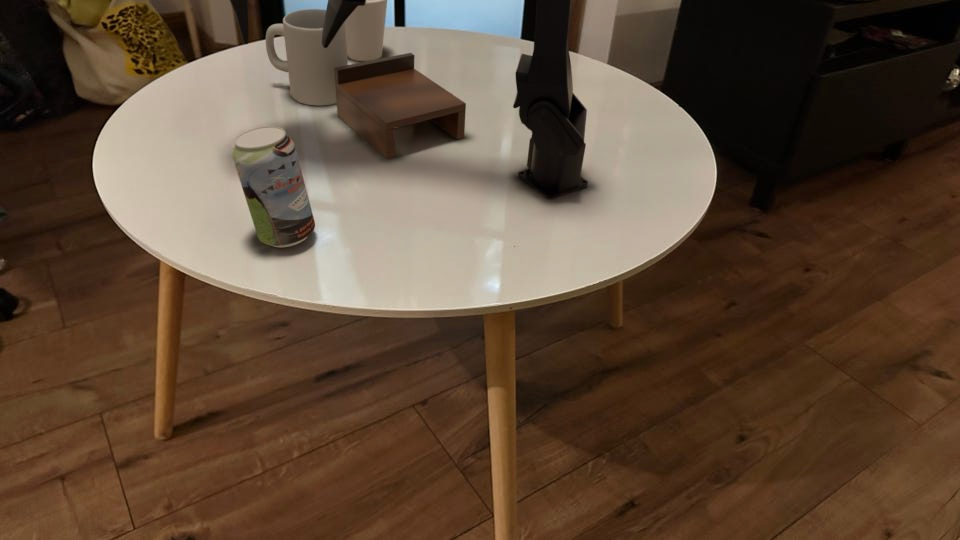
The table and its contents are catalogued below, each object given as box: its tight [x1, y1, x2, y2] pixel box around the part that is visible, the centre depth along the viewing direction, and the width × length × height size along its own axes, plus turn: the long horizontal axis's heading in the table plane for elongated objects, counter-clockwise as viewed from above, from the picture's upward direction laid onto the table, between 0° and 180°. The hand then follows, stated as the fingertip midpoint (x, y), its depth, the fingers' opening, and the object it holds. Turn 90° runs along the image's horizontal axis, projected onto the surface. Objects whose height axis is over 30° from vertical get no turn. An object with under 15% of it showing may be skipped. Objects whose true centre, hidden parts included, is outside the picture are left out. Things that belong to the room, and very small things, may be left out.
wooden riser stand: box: [334, 52, 467, 159], centre depth 94 cm, size 14×12×7 cm
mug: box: [265, 8, 349, 106], centre depth 99 cm, size 12×8×11 cm
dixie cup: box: [345, 0, 388, 62], centre depth 112 cm, size 8×8×10 cm
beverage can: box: [232, 125, 316, 248], centre depth 71 cm, size 6×7×12 cm
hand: (285, 44), depth 81 cm, fingers open, 9 cm apart
